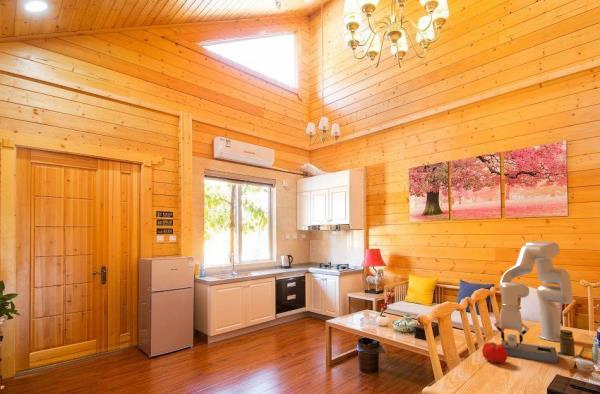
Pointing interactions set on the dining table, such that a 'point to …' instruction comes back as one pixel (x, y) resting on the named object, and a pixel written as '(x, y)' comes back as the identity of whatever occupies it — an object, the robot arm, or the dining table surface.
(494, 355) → the tomato
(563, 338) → the condiment
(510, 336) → the plug
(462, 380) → the dining table surface
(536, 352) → the panel
